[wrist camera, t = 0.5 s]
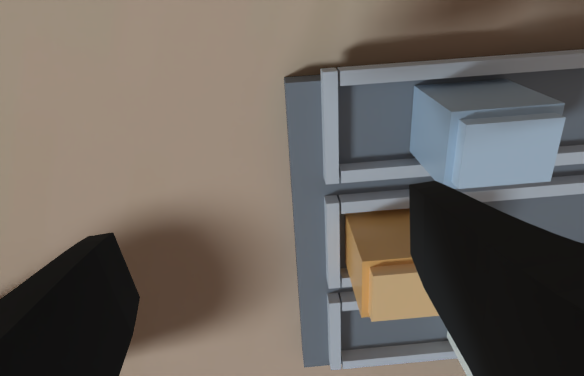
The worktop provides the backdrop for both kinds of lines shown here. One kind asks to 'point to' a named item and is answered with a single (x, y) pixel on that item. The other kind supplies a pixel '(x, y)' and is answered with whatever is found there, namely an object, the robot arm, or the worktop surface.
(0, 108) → the worktop surface
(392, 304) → the slider orange
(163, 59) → the worktop surface
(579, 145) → the panel
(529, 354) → the robot arm
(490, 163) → the slider blue
